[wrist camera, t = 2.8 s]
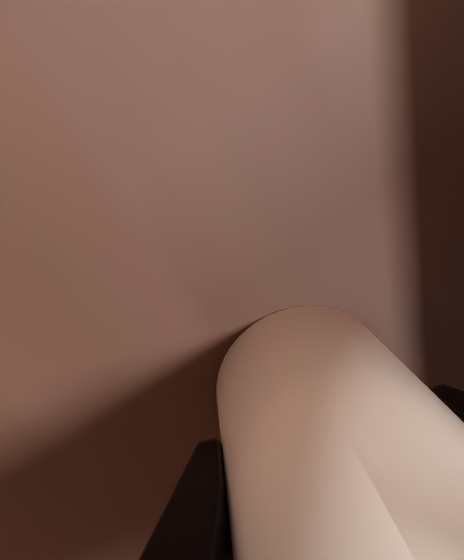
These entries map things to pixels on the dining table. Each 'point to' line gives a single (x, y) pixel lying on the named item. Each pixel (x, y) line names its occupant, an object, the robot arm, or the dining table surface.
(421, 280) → the dining table surface
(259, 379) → the cream domed knob
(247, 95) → the dining table surface
